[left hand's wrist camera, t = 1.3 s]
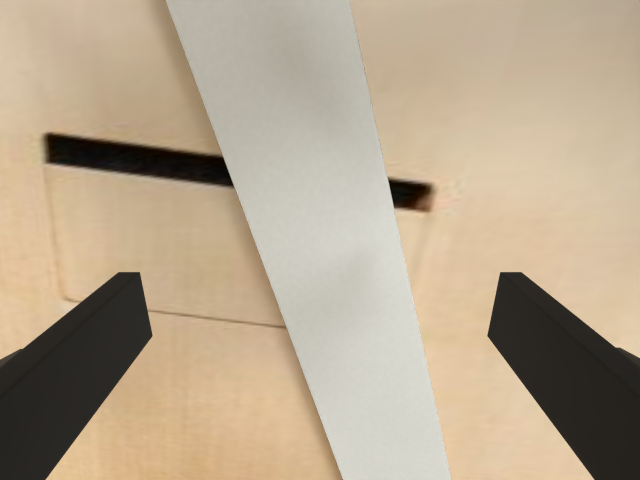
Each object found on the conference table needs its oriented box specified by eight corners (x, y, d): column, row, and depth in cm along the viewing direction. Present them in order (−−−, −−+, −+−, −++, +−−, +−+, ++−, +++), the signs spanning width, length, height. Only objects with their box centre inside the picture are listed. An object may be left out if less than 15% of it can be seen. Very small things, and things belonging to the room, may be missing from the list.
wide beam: (186, -29, 24) (133, -84, 17) (317, -75, 23) (317, -152, 16) (408, 617, 52) (421, 693, 45) (471, 607, 51) (494, 683, 44)
